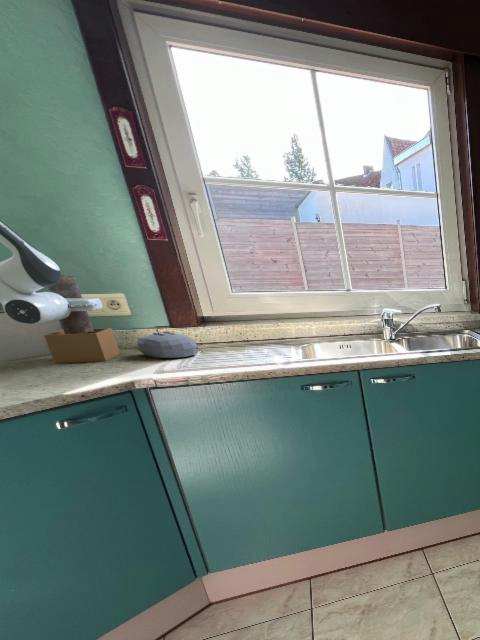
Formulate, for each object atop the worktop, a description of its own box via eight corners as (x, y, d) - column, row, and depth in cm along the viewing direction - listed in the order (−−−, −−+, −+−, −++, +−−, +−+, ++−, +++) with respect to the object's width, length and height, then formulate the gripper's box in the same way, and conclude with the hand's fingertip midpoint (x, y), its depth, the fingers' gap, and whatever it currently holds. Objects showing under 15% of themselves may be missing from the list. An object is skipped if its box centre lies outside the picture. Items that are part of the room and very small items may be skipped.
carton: (54, 363, 166) (43, 335, 163) (72, 356, 177) (62, 329, 174) (105, 360, 172) (96, 333, 168) (120, 353, 183) (111, 328, 179)
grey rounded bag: (133, 355, 180) (163, 362, 172) (125, 332, 177) (155, 338, 169) (180, 349, 193) (210, 355, 185) (173, 328, 190) (204, 332, 182)
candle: (81, 333, 175) (60, 274, 168) (101, 333, 175) (80, 274, 167) (59, 336, 168) (35, 274, 160) (79, 337, 168) (57, 275, 160)
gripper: (89, 295, 160) (106, 292, 171) (1, 296, 151) (25, 293, 163) (96, 315, 162) (112, 311, 173) (9, 317, 154) (33, 312, 165)
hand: (69, 302), depth 168 cm, fingers closed on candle, 7 cm apart
